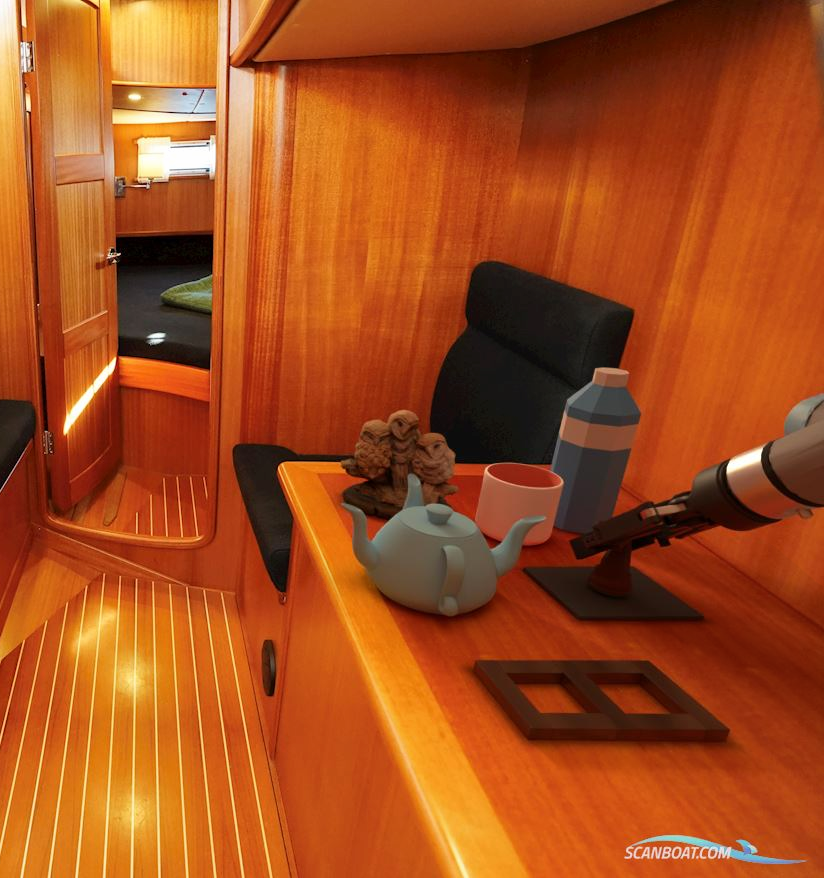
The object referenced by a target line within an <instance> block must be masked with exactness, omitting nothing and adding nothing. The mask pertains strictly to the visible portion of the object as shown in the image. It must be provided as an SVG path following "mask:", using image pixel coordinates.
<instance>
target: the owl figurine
mask: <svg viewBox="0 0 824 878" xmlns="http://www.w3.org/2000/svg"><path fill="white" fill-rule="evenodd" d="M419 427H420V419H419V417H418V416H417V414H416V413H415V412H413V411H410V410H407V409H400V410H397V411H396V412H393V413H392V414H390V415H389V417H388V419H387V423H386V422H384V421H382V420H381V419H373V420H369V421H366V422H365V423H364V424H363V425H362V428H361V431H360V434H359V439H358V442H357V443H356V444H355V445H354V447H355V452H354V455H353V456H354V459H353V458H348V459H345V460H340V467H341V468H342V469H343V470H344V472H345V473H346V474H347V475H349V476H350V477H353V478H358V479H364V481H362V482H358V483H355V484H352V485H351V486H348V487H346V488H345V489H344V490H343V492H342V499H343V502H344V503H345V504H349V505H352V506H355V507H357V508H359V509H360V510H362V511H363V513H364V514H368V515H369V516H373V515H374V514H375V513H376V516H377V517H378V518H380V519H385V520H388V521H389V520H390V519H391V518H392V517H394V516H395V515H396V514H397V513H399V512H400V511H402V509H403V507H404V504H405V502H406V499H407V495H408V475H409V474H414V475H416V476H417V477H418V479H419V480H420V483H421V488H422V495H423V503H424V506H426V505H428V504H442V505H445V506H448V507H450V508H452V506H451V504H450V503H448V501H447V500H446V497H447V496H453V495H454V494H458V492H459V486H456V485H454V484H451V483H449V481H450V480H451V478H452V477H453V476H454V474H455V466H456V462H455V459H456V456H457V455H456V453H455V452H454V451H453V450H452V449H451V448H449V446H448V443H447V441H446V438H445V436H444V435H443V434H441V433H438V432H437V433H436V432H427V433H423V434H422V433H421V432H420V430H419V429H418V428H419ZM375 509H376V511H377V512H376V511H375ZM452 509H453V508H452Z"/></svg>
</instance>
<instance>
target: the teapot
mask: <svg viewBox="0 0 824 878" xmlns="http://www.w3.org/2000/svg"><path fill="white" fill-rule="evenodd" d="M340 505H341V506H342V508H344V509H345V510H346V511H347V512H348V513H349V514H350V516H351V519H352V525H353V526H352V536H351V547H352V551H353V555H354V557H355V559H356V560H357V561H358V563H359V564H360V565H361V566H363V567H364V568H365V571H366V574H367V576H368V577H369V579H370V580H371V582H372V583H373V585H374V586H375V587H376V589H378V590H379V591H380V593H382V594H383V595H384V596H385V597H387V598H388V599H390V600H391V601H393V602H395V603H397V604H399V605H401V606H404V607H406V608H409V609H412V610H415V611H418V612H423V613H428V614H432V615H440V616H441V615H442V616H443V615H444V616H446V617H454V616H457V615H461V614H466V613H469V612H471V611H474V610H477V609H478V608H481V607H483V606H484V605H486V604H488V602H490V601H491V600H492V598H493V597H495V594H496V592H497V586H498V579H501V578H503V577H504V576H506V575H507V574H509V573H510V572H511V571H512V570H513V569H514V568H515V566H516V565H517V564H518V561H519V559H520V556H521V553H522V549H523V546H524V545H523V542H524V539H525V537H526V535H527V533H528V532H529V531H530V530H531V529H532V528H533V527H534V526H535V525H537V524H539V523H541V522H543V521H544V520H546V517H544V516H531V517H526V518H523V519H521V520H519V521H518V522H516V523H515V524H514V525H513V526H512V528H511V529H510V531H509V532H508V534H507V536H506V537H505V539H504V540H503V542H500V543H499V544H498V545H496V546H495V547H493V548H490V546H489V543H488V542H487V540H486V538H485V536H484V533H483V532H482V531H480V529H479V528H478V526H477V525H476V522H475V521H473V520H472V519H471V518H469V517H468V516H465V515H464V514H463V513H459V512H457V511H455V510H454V509H453V508H450V507H448V506H445V505H442V504H428V505H426V506H424V503H423V495H422V488H421V483H420V480H419V479H418V477H417V476H416V475H414V474H409V475H408V495H407V499H406V502H405V504H404V507H403V509H402V511H400V512H399V513H397V514H396V515H395V516H394V517H392V518H391V519H390V520H389V519H388V521H387V522H386V523H385V524H384V525H383V526H382V527H381V528H380V529H379V530H378V531H377V533H376V534H375V535H374V536H373V538H372V540H370V539H369V537H368V519H367V516H366V515H365V514H366V513H363V511H362V510H360V509H359V508H357V507H355V506H352V505H349V504H346V503H345V502H341V503H340Z"/></svg>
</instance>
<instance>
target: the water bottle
mask: <svg viewBox="0 0 824 878" xmlns="http://www.w3.org/2000/svg"><path fill="white" fill-rule="evenodd" d="M629 376H630V372H629V371H628V370H625V369H621V368H616V367H615V368H614V367H596V368H594V372H593V377H592V380H591V381H590V382H588V383H587V384H586V385H584V387H582V388H580V389H579V390H578V391H577V392H575V393H573V394H572V395H571V396H570V397H568V398H567V399H566V403H565V407H564V411H563V415H562V418H561V424H560V427H559V431H558V436H557V440H556V445H555V449H554V453H553V457H552V461H551V465H550V470H549V471H551V472H553V473H555V474H557V475H558V476H560V477H561V478H562V480H563V482H564V484H563V488H562V492H561V496H560V500H559V504H558V508H557V512H556V516H555V520H554V525H553V527H555V528H557V529H559V530H561V531H565V532H571V533H578V534H582V535H584V534H587V533H589V532H592V531H593V530H592V528H591V526H593V525H594V524H598V521H600V520H608V519H610V518H612V517H614V512H615V509H616V505H617V502H618V498H619V495H620V491H621V488H622V485H623V481H624V478H625V473H626V470H627V467H628V462H629V459H630V455H631V452H632V449H633V444H634V443H635V437H636V434H637V430H638V427H639V423H640V421H641V417H642V416H641V415H642V412H641V410H640V408H639V407H638V405H637V403H636V401H635V400H634V398H633V396H632V395H631V392H630V391H629V389H628V387H627V384H628V380H629Z"/></svg>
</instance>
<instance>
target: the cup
mask: <svg viewBox="0 0 824 878" xmlns="http://www.w3.org/2000/svg"><path fill="white" fill-rule="evenodd" d="M563 484H564V482H563V480H562V478H561V477H560V476H558V475H557V474H555V473H553V472H551V471H550V470H548V469H545V468H542V467H539V466H534V465H531V464H524V463H517V462H516V463H515V462H500V463H492V464H490V465H487V466H486V467H485V469H484V473H483V477H482V483H481V488H480V492H479V498H478V503H477V508H476V514H475V517H474V518H475V520H474V523H475V524H476V525H477V526H478V528H479V529H480V531H481V532H482V534H483V535H485V536H486V537H489V538H491V539H493V540H495V541H498V542H500V543H502V542H503V540H504V539H505V537H506V536H507V534H508V532H509V531H510V529H511V528H512V526H513V525H514V524H515V523H516V522H518V521H519V520H521V519H523V518H526V517H531V516H544V517H546V520H544V521H543V522H541V523H539V524H537V525H535V526H534V527H533V528H532V529H531V530H530V531H529V532H528V533H527V535H526V537H525V539H524V542H523V545H522V546H525V547H526V546H527V547H529V546H537V545H541V544H543V543H546V542H547V541H548V540H549V539H550V538H551V536H552V533H553V529H554V526H553V525H554V520H555V516H556V512H557V508H558V504H559V500H560V496H561V492H562V488H563Z"/></svg>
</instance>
